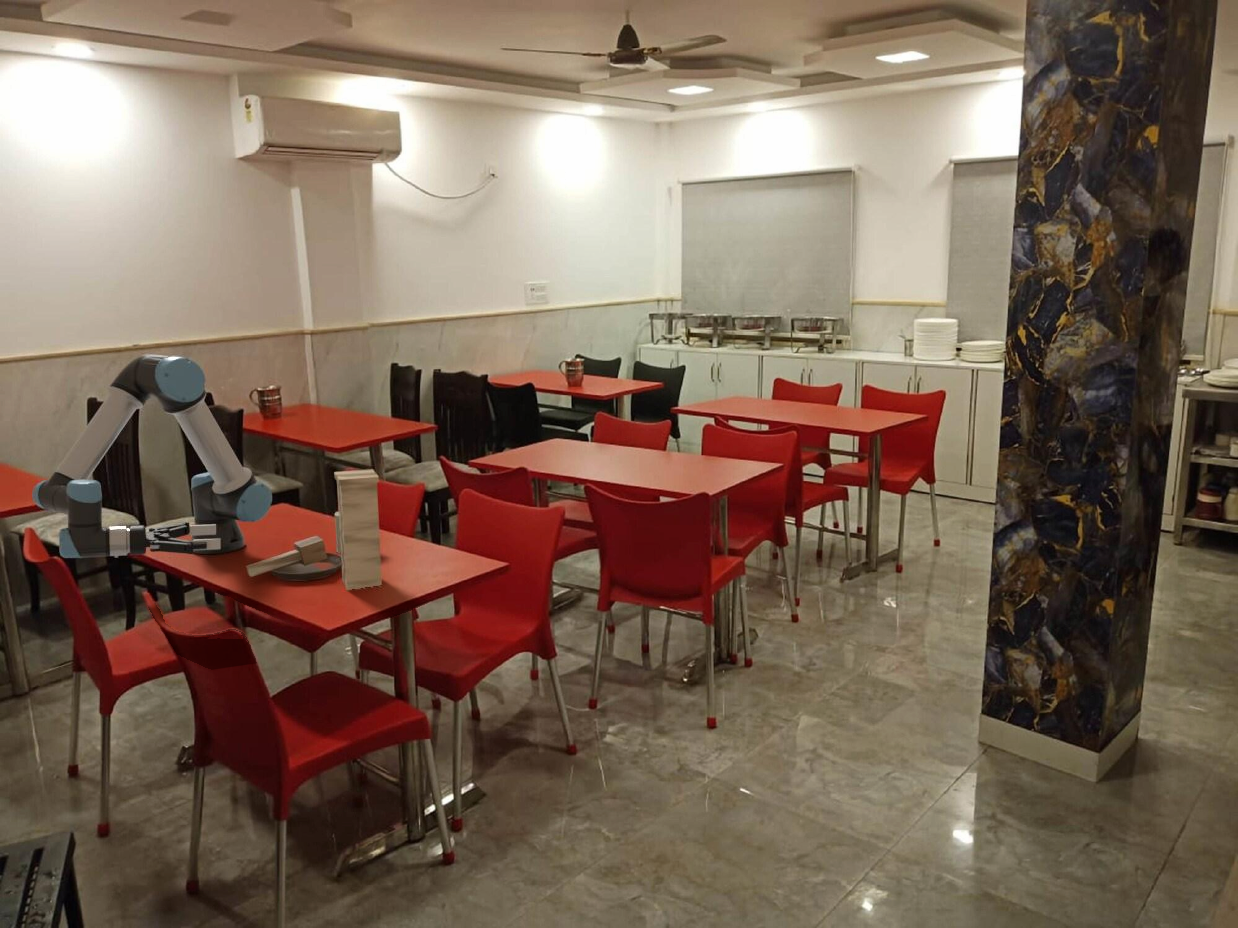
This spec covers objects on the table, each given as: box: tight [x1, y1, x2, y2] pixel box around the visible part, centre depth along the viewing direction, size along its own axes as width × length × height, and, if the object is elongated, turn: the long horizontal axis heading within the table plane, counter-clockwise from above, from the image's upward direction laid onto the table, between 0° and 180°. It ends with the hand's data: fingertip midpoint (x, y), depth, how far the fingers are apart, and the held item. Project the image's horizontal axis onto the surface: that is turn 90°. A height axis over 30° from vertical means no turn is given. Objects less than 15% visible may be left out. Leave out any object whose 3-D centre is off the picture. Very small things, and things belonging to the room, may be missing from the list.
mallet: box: [245, 535, 327, 578], centre depth 269 cm, size 6×20×6 cm, turn 126°
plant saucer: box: [269, 552, 342, 582], centre depth 274 cm, size 21×21×3 cm
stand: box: [333, 468, 383, 591], centre depth 262 cm, size 10×10×30 cm
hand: (218, 536), depth 261 cm, fingers open, 13 cm apart
